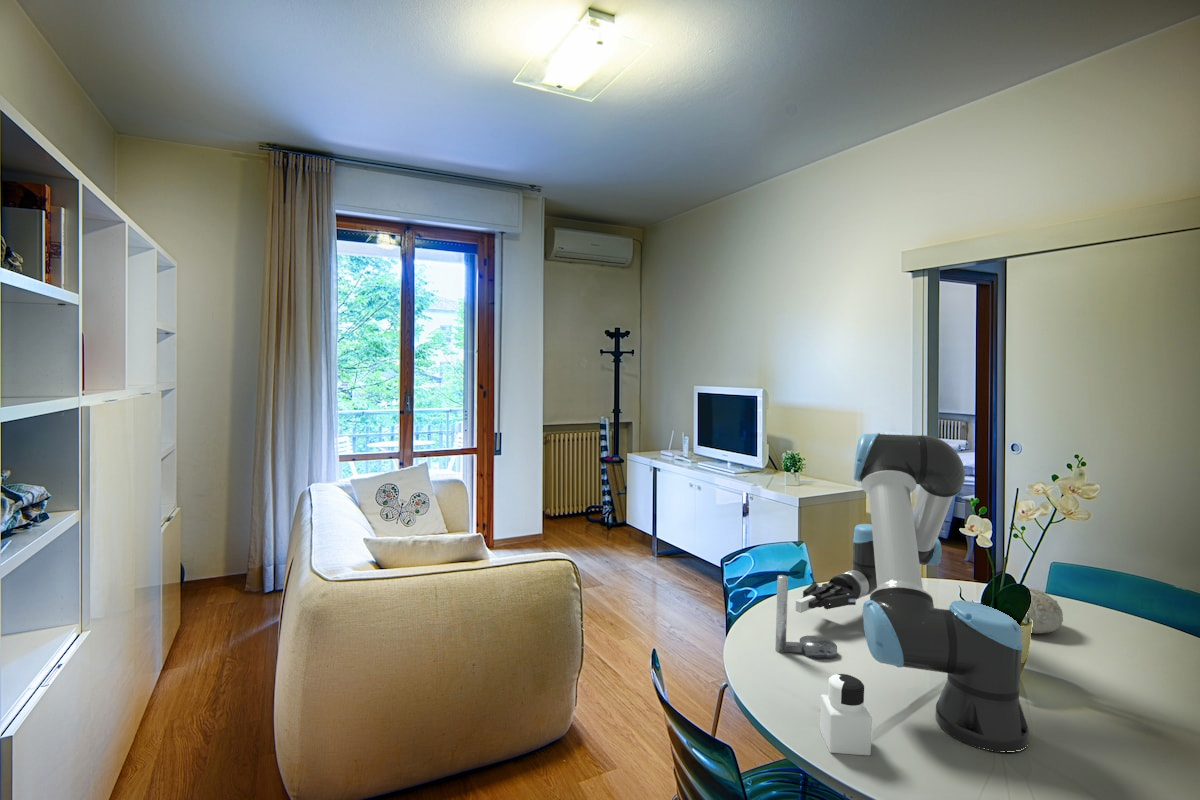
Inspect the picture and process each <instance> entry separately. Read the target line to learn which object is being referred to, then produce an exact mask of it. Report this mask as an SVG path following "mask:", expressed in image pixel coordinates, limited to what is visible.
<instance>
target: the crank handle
mask: <svg viewBox="0 0 1200 800" xmlns="http://www.w3.org/2000/svg"><path fill="white" fill-rule="evenodd" d="M776 582H777V583H776V584H777V585H776V586H777V587H776V588H777V589H776V619H775V652H777V653H781V654H786V653H800V654H801V655H803V656H804V657H806V658H809V659H815V660H830V659H835V658H837V656H838V645H837V644H836V643H835V642H833V641H831V640H828V639H826V638H824V637H820V636H817V635H804V636H801V637H800V638H799V642H797V641H787V628H788V627H787V624H788V623H787V622H788V621H787V620H788V619H787V618H788V596H789V595H788V593H789V590H788V589H789V588H788V587H789V576H787V575H784V574H779V575H777V581H776Z"/></svg>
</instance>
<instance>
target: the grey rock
mask: <svg viewBox="0 0 1200 800" xmlns="http://www.w3.org/2000/svg"><path fill="white" fill-rule="evenodd" d="M1027 588H1028V589H1029V590H1030V591H1031V606H1030V609H1029V611H1028V613H1027V617H1028V618H1031V619H1032V620H1033V627H1032V633H1031V634H1046V633H1051V632H1055V631H1057V630H1058V629H1059V628H1060V627H1061V626H1062V624H1063V622H1064V617H1063V615H1064V613H1063V609H1062V608H1061V606H1060V605H1059V604H1058V601H1057V600H1056V599H1054V598H1053V597H1051V596H1050V595H1049V594H1047V593H1045V592H1044V591H1040V590H1039V589H1033V588H1029V587H1027Z"/></svg>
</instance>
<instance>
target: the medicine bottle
mask: <svg viewBox="0 0 1200 800" xmlns="http://www.w3.org/2000/svg"><path fill="white" fill-rule="evenodd" d="M827 690H828V693H827V694H820V709H819V710H820V713H819V731H820V733H821V735H822V738H823V740H824V742H825V744H826V747H827V749H828V751H829V752H830V753H831V754H842V755H856V756H857V755H858V756H871V755H872V752H871V750H872V729H873V727H872V724H873V718H872V715H871V714H870V712H869V711H868V709H867V707H866V706H865V703H864V702H865V684H864V683H863V682H862V681H861V680H860V679H859V678H857V677H855V676H853V675H850V674H847V673H846V674H845V673H835V674H833V675H831V676H830V677H829V678H828V689H827Z"/></svg>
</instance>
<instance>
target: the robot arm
mask: <svg viewBox="0 0 1200 800" xmlns="http://www.w3.org/2000/svg"><path fill="white" fill-rule="evenodd" d="M965 478H966V471H965V466H964V463H963V460H962V459H961V457H960V456H959V454H958V452H957V451H955V449H954V448H953V447H952V446H951V445H950V444H949V443H947V442H946V441H944V440H942V439H940V438H938V437H935V436H931V435H924V434H922V435H914V434H912V435H911V434H884V433H880V432H877V433H863V434H862V435H860V437H859V438H858V442H857V446H856V451H855V459H854V466H853V480H854V481H857V482H858V483H860V482H861V484H860V485H861V488H862V490H863V491H864V492H865V494H867V495H869V506H870V518H871V519H870V521H871V524H870V523H860V524H856V526H854V529H853V530H854V531H853V539H852V542H853V543H852V568H851V570H848V571H845V572H842V573H840V574H838V575H834V576H832V578H831V579H830V580H829V581H828V583H823V584H822V585H819V583H817V582H816V581H812V582H811V584H810V585H809V586H808V587H806V588H805V589H804V590H803V591H802V597H800V598H799V599H796V600H795V612H797V613H800V614H801V613H804V612H807V611H809V610H811V609H815V608H823V609H824V610H831V609H836V608H841V607H845V606H855V605H856V604H857V600H860V599H862V598H864V597H866V596H868V595H869V600H866V601H864V602H863V606H862V619H863V631H864V635H865V640H866V644H867V647H868V650H869V652H870V654H871V656H872V658H873V659H874V660H875V661H877V662H878V663H879V664H885V665H889V666H893V667H896V668H908V669H917V670H923V671H932V672H937V673H945V674H947V678H946V679H947V680H946V682H945V685H944V687H943V689H942V691H941V693H940V696H939V699H938V700H937V702H936V704H935V715H934V716H935V721H936V722H937V724H938V726H939V727H940V728H941V729H942V730H944V731H945V732H946V733H947V734H949V735H950V736H951V737H953V738H954V739H956V738H957V740H959V741H960V742H962V743H964V744H966V745H969V744H970V745H969V746H972V745H973V746H972V747H974V746H976V747H975V748H977V747H980V748H979V749H981V748H985V749H989V750H993V751H999V752H998V753H1001V752H1000V751H1005V752H1007V751H1016V750H1021V749H1023V748H1025V747H1028V746H1029V743H1030V741H1029V740H1030V739H1029V738H1030V732H1029V731H1030V730H1029V726H1028V724H1027V720H1026V717H1025V714H1024V711H1023V707H1022V704H1021V701H1020V687H1021V686H1020V685H1021V669H1022V668H1021V667H1022V651H1023V648H1024V646H1023V639H1022V637H1023V636H1022V632H1023V631H1021V627H1020V625H1019V624H1018V623H1017V621H1016V620H1014V619H1013V618H1012V617H1010V616H1009V615H1007V614H1005V613H1003V612H1001V611H999V610H997V609H994V608H992V607H989V606H986V605H983V604H982V603H979V602H974V601H969V600H961V599H960V600H953V601H952V602H951V603H950V605H949V606H948V609H944V608H943V609H942V608H937V607H935V606H934V605H935V604H934V599H933V596H932V595H931V594H930V593H928V592H927V591H926V590H925V589H924V586H923V580H922V573H921V566H920V565H922V566H927V565H928V566H936V565H939V564H940V563H941V560H942V555H943V553H942V551H943V549H942V544H941V541H940V539H939V534H940V532H941V530H942V527H943V524H944V522H945V519H946V517H947V514H948V512H949V508H950V507H951V504H952V502H953V498H954V497H955V496H957V495H959V493H960V492H961V491H962V489H963V486H964V483H965V480H966V479H965ZM917 485H919V489H918V491H917V493H916V496H915V498H916V499H915V501H914V504H913V505H912V497H911V493H913V492H914V491H915V490H916V488H917ZM1027 745H1028V746H1027ZM993 751H992V752H993Z"/></svg>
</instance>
